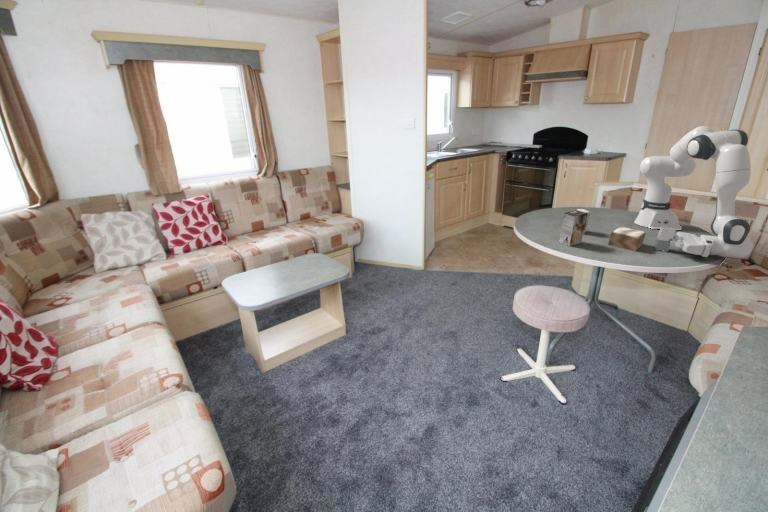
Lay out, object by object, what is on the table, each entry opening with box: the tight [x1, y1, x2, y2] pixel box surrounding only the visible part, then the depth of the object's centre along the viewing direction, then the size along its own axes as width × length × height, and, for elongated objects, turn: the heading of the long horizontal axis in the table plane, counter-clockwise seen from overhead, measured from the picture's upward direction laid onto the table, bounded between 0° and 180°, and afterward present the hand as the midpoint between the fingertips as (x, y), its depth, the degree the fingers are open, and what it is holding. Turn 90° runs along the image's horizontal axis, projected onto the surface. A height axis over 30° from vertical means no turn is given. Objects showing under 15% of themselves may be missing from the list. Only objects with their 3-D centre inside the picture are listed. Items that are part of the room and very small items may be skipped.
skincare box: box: [576, 208, 591, 234], centre depth 197 cm, size 6×4×12 cm
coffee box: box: [558, 209, 588, 247], centre depth 181 cm, size 9×6×16 cm
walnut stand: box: [608, 226, 647, 252], centre depth 180 cm, size 12×12×7 cm
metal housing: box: [653, 226, 676, 252], centre depth 174 cm, size 5×5×11 cm
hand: (668, 239), depth 173 cm, fingers open, 8 cm apart
